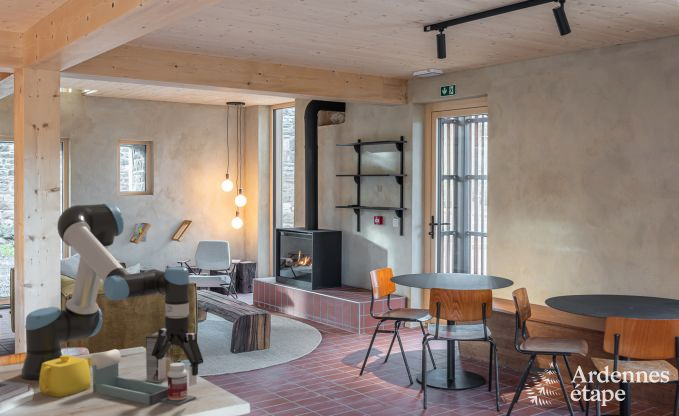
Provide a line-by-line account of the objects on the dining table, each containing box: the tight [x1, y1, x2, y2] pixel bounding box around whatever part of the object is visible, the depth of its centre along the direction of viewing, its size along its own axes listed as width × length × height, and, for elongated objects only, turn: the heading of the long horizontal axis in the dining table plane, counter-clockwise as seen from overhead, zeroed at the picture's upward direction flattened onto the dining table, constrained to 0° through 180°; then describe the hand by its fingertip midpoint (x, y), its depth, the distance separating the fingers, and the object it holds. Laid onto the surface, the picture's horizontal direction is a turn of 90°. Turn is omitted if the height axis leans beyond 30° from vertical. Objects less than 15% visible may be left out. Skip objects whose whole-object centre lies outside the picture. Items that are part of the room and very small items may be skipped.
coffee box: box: [145, 330, 174, 383], centre depth 259 cm, size 9×6×16 cm
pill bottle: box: [167, 362, 188, 401], centre depth 235 cm, size 6×6×11 cm
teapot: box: [38, 354, 92, 398], centre depth 246 cm, size 20×12×12 cm, turn 147°
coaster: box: [160, 394, 197, 406], centre depth 235 cm, size 8×8×1 cm
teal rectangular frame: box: [90, 348, 168, 406], centre depth 241 cm, size 28×10×12 cm, turn 60°
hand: (177, 381), depth 235 cm, fingers open, 12 cm apart
